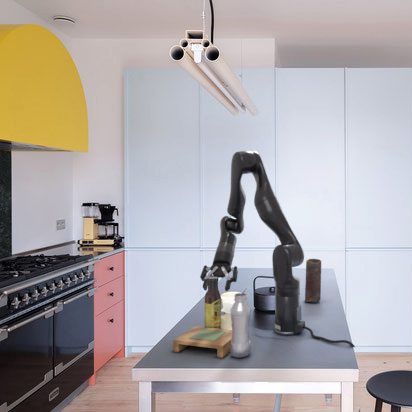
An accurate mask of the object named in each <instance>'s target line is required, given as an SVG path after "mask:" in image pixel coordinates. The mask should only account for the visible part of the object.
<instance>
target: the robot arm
mask: <svg viewBox="0 0 412 412" xmlns="http://www.w3.org/2000/svg"><path fill="white" fill-rule="evenodd" d="M249 174H252V176H253V178H254V181H255V185H256V188H255V191H254V199H253V205H254V208H255V210H256V212H257V214H258V216H259V218H260V220H261V221H262V223H263V224H264V225H265V226H266V227H267V228H268V229H269V230H270V231H272V233H273V234H275V235H276V237H277V238H278V241H279V242H280V244H278V245H276V246H275V247H274V248H273V251H272V257H271V259H272V260H271V261H272V277H273V280H274V286H275V287H274V289H275V290H274V291H275V293H274V311H275V312H274V332H275V333H276V334H278V335H282V336H292V335H298V334H299V333H302V332H303V331H304V330H307V331H309V333H310V336H311V337H312V338H313V339H315V340H316V339H317V340H322V341H324V342H327V343H331V344H341V343H343V344H348V345H349V346H351V347H352V348H356V346H355V344H353V343H352V342H351V341H350V340H346V339H338V340H333V339H329V338H325V337H323V336H318V335H314V332H313V330H312V329H311V328H310V327H309V326H306V321H305V320H302V305H301V293H300V292H301V280H300V278H299V277H298V276H295V275H294V274H293V268H295V267H299V266H301V265H302V264H303V263H304V260H305V252H304V249H303V247H302V245H301V243H300V241H299V240H298V238H297V236H296V234H295V232H294V231H293V229H292V227H291V225H290V223H289V221H288V219H287V217H286V215H285V213H284V211H283V208H282V205H281V203H280V201H279V199H278V197H277V195H276V193H275V191H274V189H273V187H272V184H271V181H270V179H269V177H268V174H267V170H266V168H265V165H264V162H263V159H262V157H261V155H260V153H258V152H257V151H256V150H240V151H236V152H234V153H233V155H232V158H231V163H230V193H229V199H228V203H227V208H226V212H227V214H228V215H224V216H223V217H221V219H220V223H219V229H220V236H219V240H218V245H217V246H216V250H215V254H214V257H213V261H212V265H211V266H208V265H203V268H202V271H201V273H200V276H199V278H200V280H201V281H202V282H203V283H202V288H203V291H208V277H218V279H219V278H221V279H224V278H225V279H226V282H225V286H224V291H225V292H228V291H229V290H230V289H231V285H232V283H237V281H238V273H239V269H238V266H236V265H235V266H233V267H232V264H233V260H234V257H235V250H236V245H237V242H238V238H237V235H240V234H242V233H243V232H244V231H245V219H244V211H245V207H246V203H247V195H246V193H245V189H244V188H243V185H242V178H243V175H249ZM230 273H232V277H230ZM358 412H361V409H359V410H358Z"/></svg>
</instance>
